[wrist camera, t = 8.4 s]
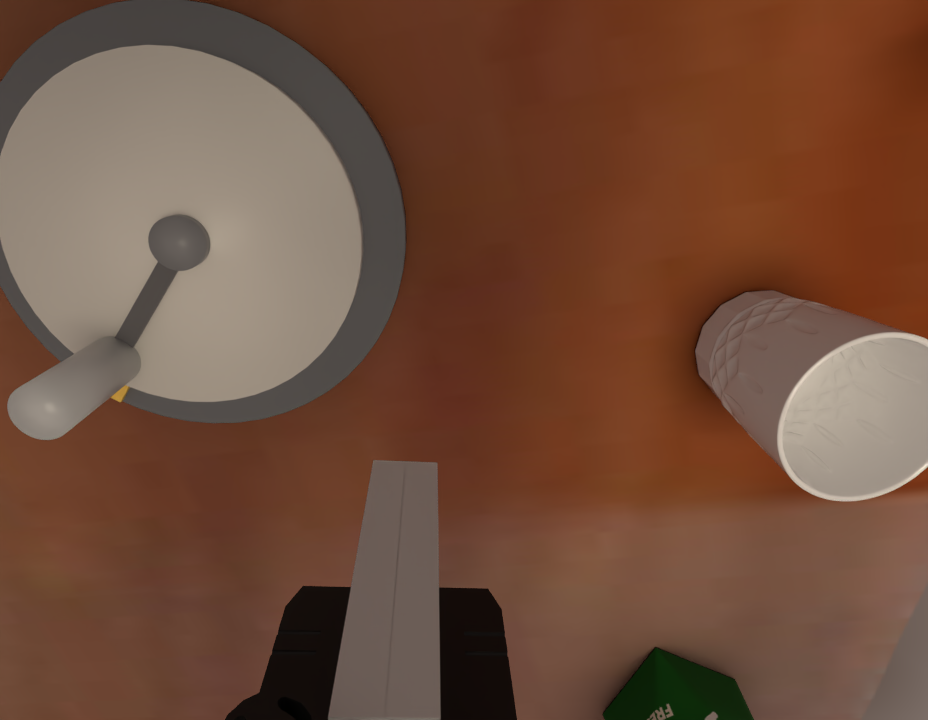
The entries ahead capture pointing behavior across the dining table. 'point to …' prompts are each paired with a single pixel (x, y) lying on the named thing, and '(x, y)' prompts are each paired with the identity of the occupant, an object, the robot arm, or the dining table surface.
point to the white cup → (821, 391)
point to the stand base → (320, 94)
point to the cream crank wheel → (173, 232)
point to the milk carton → (677, 693)
